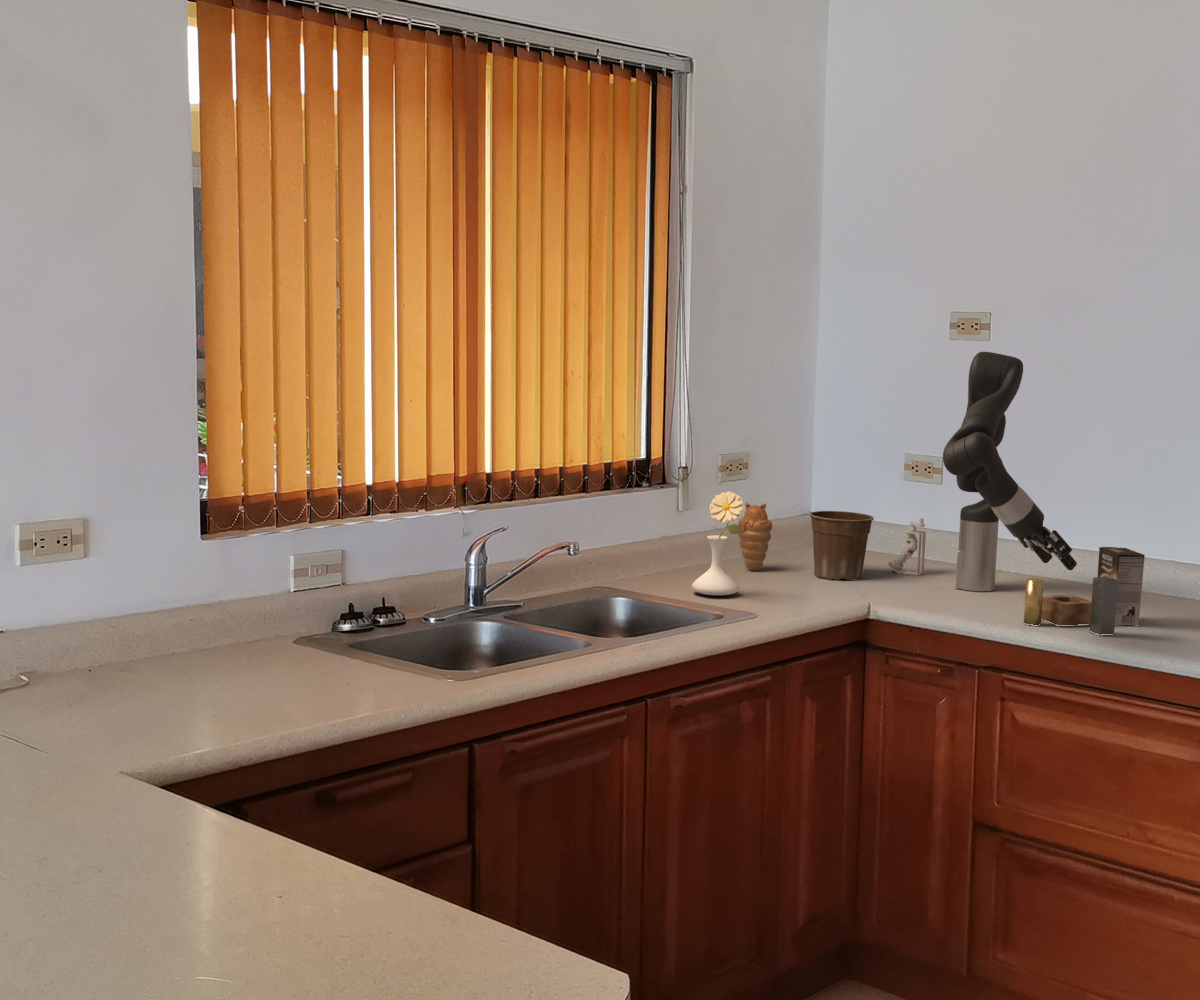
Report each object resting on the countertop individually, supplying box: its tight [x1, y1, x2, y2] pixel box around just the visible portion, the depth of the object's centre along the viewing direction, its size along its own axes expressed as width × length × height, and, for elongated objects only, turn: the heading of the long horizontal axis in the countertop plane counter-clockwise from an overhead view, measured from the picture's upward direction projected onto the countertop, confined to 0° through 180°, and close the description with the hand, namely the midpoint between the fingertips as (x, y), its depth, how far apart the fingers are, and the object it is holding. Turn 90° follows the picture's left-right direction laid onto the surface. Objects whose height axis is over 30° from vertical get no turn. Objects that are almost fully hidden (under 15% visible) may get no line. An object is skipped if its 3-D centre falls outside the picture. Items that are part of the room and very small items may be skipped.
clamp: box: [887, 517, 927, 576], centre depth 347 cm, size 4×10×15 cm, turn 54°
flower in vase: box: [691, 490, 745, 597], centre depth 311 cm, size 13×11×25 cm
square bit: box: [1089, 576, 1118, 635], centre depth 280 cm, size 4×4×12 cm
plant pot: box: [809, 510, 875, 581], centre depth 339 cm, size 16×16×16 cm
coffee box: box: [1097, 546, 1146, 625], centre depth 293 cm, size 9×6×16 cm
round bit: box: [1023, 577, 1045, 625], centre depth 288 cm, size 4×4×10 cm
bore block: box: [1041, 594, 1092, 625], centre depth 292 cm, size 9×9×5 cm
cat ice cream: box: [737, 502, 773, 572], centre depth 344 cm, size 9×8×18 cm
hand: (1060, 563), depth 275 cm, fingers open, 8 cm apart
